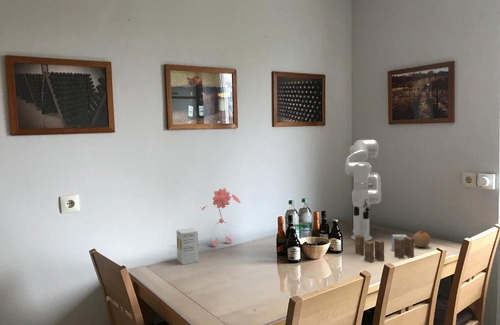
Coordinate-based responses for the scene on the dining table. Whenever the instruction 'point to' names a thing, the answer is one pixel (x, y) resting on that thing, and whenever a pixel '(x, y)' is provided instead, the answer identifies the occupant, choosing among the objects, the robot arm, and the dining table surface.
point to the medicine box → (397, 237)
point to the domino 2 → (369, 251)
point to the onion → (421, 239)
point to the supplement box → (187, 246)
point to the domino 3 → (379, 250)
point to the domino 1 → (359, 244)
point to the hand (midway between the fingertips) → (361, 217)
